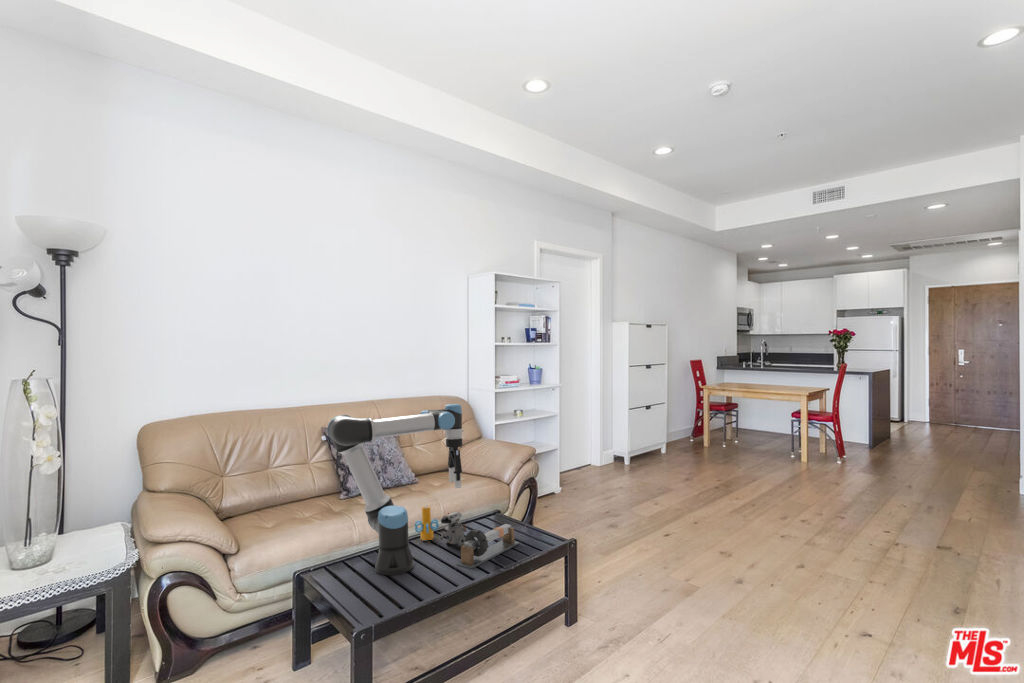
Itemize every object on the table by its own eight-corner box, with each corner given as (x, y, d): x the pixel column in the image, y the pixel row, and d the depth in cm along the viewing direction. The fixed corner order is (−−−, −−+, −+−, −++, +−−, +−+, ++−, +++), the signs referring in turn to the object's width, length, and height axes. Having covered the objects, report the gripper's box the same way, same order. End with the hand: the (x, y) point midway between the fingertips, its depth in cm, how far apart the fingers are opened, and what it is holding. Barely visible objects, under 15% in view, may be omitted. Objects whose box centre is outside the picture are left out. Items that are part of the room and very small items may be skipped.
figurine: (436, 549, 227) (434, 515, 227) (455, 542, 235) (454, 508, 236) (449, 553, 221) (448, 518, 221) (469, 546, 229) (467, 511, 230)
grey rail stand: (472, 568, 203) (471, 546, 204) (456, 564, 208) (456, 543, 208) (518, 543, 229) (517, 524, 230) (504, 540, 234) (503, 521, 234)
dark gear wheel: (484, 558, 208) (483, 533, 209) (465, 553, 214) (464, 529, 215) (488, 556, 210) (487, 531, 211) (469, 552, 216) (468, 527, 217)
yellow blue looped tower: (409, 543, 237) (408, 509, 238) (420, 535, 247) (419, 503, 248) (434, 544, 233) (432, 510, 234) (443, 536, 243) (442, 504, 244)
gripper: (468, 440, 227) (469, 489, 225) (456, 434, 250) (457, 478, 249) (451, 441, 224) (452, 491, 223) (441, 435, 248) (442, 480, 247)
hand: (455, 484), depth 236 cm, fingers open, 13 cm apart
